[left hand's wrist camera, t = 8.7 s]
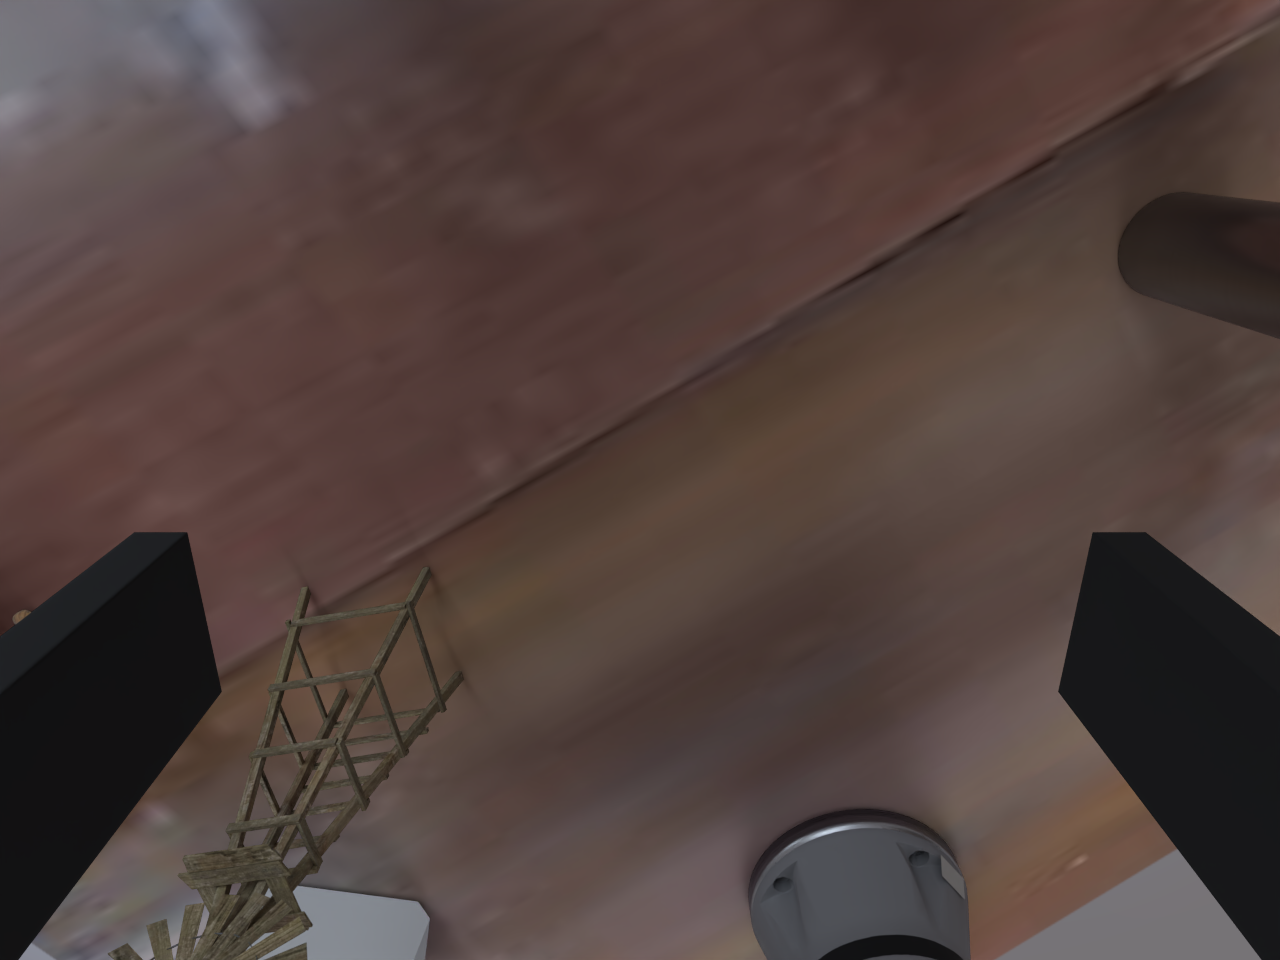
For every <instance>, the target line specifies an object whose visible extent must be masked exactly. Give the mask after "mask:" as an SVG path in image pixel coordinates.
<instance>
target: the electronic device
mask: <svg viewBox="0 0 1280 960" xmlns="http://www.w3.org/2000/svg"><path fill="white" fill-rule="evenodd" d="M293 893H294V896H295V898H296V900H297V902H298V905H299V907H300V909H301V911H305V913H306V915H307V916H308V918H309V919H310V921H311V922H312V924H313V926H312V927H309V930H306V931H305V932H304V933H302V934H300V935H299V936H297V937H295V938H293V939H292V940H290V941H288V942H287V943H285V944H283V945H282V946H280V947H278V948H277V949H275V950H273V951H271V952H270V953H268V954H266V955H265V956H263V957H261V958H260V959H258V960H265V959H267V958H270V957H272V956H274V955H277V954H279V953H282V952H284V951H286V950H289V949H291V948H294V947H296V946H298V945H301V944H303V943H306V942H307V960H425V956H426V947H427V939H428V930H429V922H430V918H429V917H428V915H427V914H426V912H425V911H424V909H423V908H422V907H421V905H420V904H419V902H417V901H410V900H402V899H395V898H387V897H379V896H372V895H364V894H356V893H349V892H341V891H333V890H326V889H318V888H310V887H303V886H297V887H296V889H295V890H294V891H293ZM265 896H267V897H270V898H271V897H272V893H271V891H270V889H269V888H268V890H267V892H266V894H265ZM262 908H263V907H262ZM262 908H261V909H262ZM273 933H274V932H272V933H265V934H264V935H262V936H261V937H260V938H259V939H258V940H256V941H255V942H254V943H253V944H252V946H254V945H255V944H257V943H259V942H260V941H262V940H263V939H265V938H266V937H268V936H269V935H271V934H273ZM249 948H251V946H249V947H248V948H247V949H246V950H248V949H249Z"/></svg>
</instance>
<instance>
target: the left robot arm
mask: <svg viewBox="0 0 1280 960" xmlns="http://www.w3.org/2000/svg"><path fill="white" fill-rule="evenodd" d="M221 692H222V691H221V686H220V681H219V677H218V672H217V668H216V663H215V658H214V654H213V649H212V645H211V640H210V635H209V631H208V626H207V621H206V617H205V612H204V608H203V603H202V598H201V594H200V589H199V584H198V580H197V575H196V571H195V566H194V561H193V557H192V552H191V548H190V543H189V538H188V534H187V532H134V533H133V534H132V535H130V536H129V537H128V538H127V539H125V540H124V541H123V542H121V543H120V544H119V545H118V546H116V547H115V548H114V549H112V550H111V551H110V552H108V553H107V554H106V555H105V556H103V557H102V558H101V559H99V560H98V561H97V562H96V563H94V564H93V565H92V566H90V567H89V568H88V569H87V570H85V571H84V572H83V573H81V574H80V575H79V576H78V577H76V578H75V579H74V580H72V581H71V582H70V583H69V584H67V585H66V586H65V587H63V588H62V589H61V590H59V591H58V592H57V593H56V594H54V595H53V596H52V597H50V598H49V599H48V600H47V601H45V602H44V603H43V604H41V605H40V606H39V607H38V608H36V609H35V610H34V611H32V612H31V613H30V614H29V615H27V616H26V617H25V618H23V619H22V620H21V621H20V622H18V623H17V624H16V625H14V626H13V627H12V628H10V629H9V630H8V631H7V632H5V633H4V634H3V635H1V636H0V960H19V958H20V957H21V956H22V954H23V953H24V952H25V950H26V949H27V948H28V946H29V945H30V944H31V942H32V941H33V940H34V938H35V937H36V936H37V935H38V933H39V932H40V931H41V929H42V928H43V927H44V925H45V924H46V923H47V921H48V920H49V919H50V917H51V916H52V915H53V913H54V912H55V911H56V909H57V908H58V907H59V906H60V904H61V903H62V902H63V900H64V899H65V898H66V896H67V895H68V894H69V892H70V891H71V890H72V888H73V887H74V886H75V884H76V883H77V882H78V880H79V879H80V878H81V877H82V875H83V874H84V873H85V871H86V870H87V869H88V867H89V866H90V865H91V863H92V862H93V861H94V859H95V858H96V857H97V855H98V854H99V853H100V851H101V850H102V849H103V848H104V846H105V845H106V844H107V842H108V841H109V840H110V838H111V837H112V836H113V834H114V833H115V832H116V830H117V829H118V828H119V826H120V825H121V824H122V822H123V821H124V820H125V819H126V817H127V816H128V815H129V813H130V812H131V811H132V809H133V808H134V807H135V805H136V804H137V803H138V801H139V800H140V799H141V797H142V796H143V795H144V793H145V792H146V791H147V790H148V788H149V787H150V786H151V784H152V783H153V782H154V780H155V779H156V778H157V776H158V775H159V774H160V772H161V771H162V770H163V768H164V767H165V766H166V764H167V763H168V762H169V761H170V759H171V758H172V757H173V755H174V754H175V753H176V751H177V750H178V749H179V747H180V746H181V745H182V743H183V742H184V741H185V739H186V738H187V737H188V735H189V734H190V733H191V732H192V730H193V729H194V728H195V726H196V725H197V724H198V722H199V721H200V720H201V718H202V717H203V716H204V714H205V713H206V712H207V710H208V709H209V708H210V706H211V705H212V704H213V703H214V701H215V700H216V699H217V697H218V696H219V695H220V693H221ZM1058 692H1059V693H1060V695H1061V696H1062V697H1063V699H1064V700H1065V701H1066V703H1067V704H1068V705H1069V706H1070V708H1071V709H1072V710H1073V712H1074V713H1075V714H1076V716H1077V717H1078V718H1079V720H1080V721H1081V722H1082V724H1083V725H1084V726H1085V728H1086V729H1087V730H1088V732H1089V733H1090V734H1091V735H1092V737H1093V738H1094V739H1095V741H1096V742H1097V743H1098V745H1099V746H1100V747H1101V749H1102V750H1103V751H1104V753H1105V754H1106V755H1107V757H1108V758H1109V759H1110V761H1111V762H1112V763H1113V764H1114V766H1115V767H1116V768H1117V770H1118V771H1119V772H1120V774H1121V775H1122V776H1123V778H1124V779H1125V780H1126V782H1127V783H1128V784H1129V786H1130V787H1131V788H1132V790H1133V791H1134V792H1135V793H1136V795H1137V796H1138V797H1139V799H1140V800H1141V801H1142V803H1143V804H1144V805H1145V807H1146V808H1147V809H1148V811H1149V812H1150V813H1151V815H1152V816H1153V817H1154V819H1155V820H1156V821H1157V822H1158V824H1159V825H1160V826H1161V828H1162V829H1163V830H1164V832H1165V833H1166V834H1167V836H1168V837H1169V838H1170V840H1171V841H1172V842H1173V844H1174V845H1175V846H1176V848H1177V849H1178V850H1179V851H1180V853H1181V854H1182V855H1183V857H1184V858H1185V859H1186V861H1187V862H1188V863H1189V865H1190V866H1191V867H1192V869H1193V870H1194V871H1195V873H1196V874H1197V875H1198V877H1199V878H1200V879H1201V880H1202V882H1203V883H1204V884H1205V886H1206V887H1207V888H1208V890H1209V891H1210V892H1211V894H1212V895H1213V896H1214V898H1215V899H1216V900H1217V902H1218V903H1219V904H1220V905H1221V907H1222V908H1223V909H1224V911H1225V912H1226V913H1227V915H1228V916H1229V917H1230V919H1231V920H1232V921H1233V923H1234V924H1235V925H1236V927H1237V928H1238V929H1239V931H1240V932H1241V933H1242V934H1243V936H1244V937H1245V938H1246V940H1247V941H1248V942H1249V944H1250V945H1251V946H1252V948H1253V949H1254V950H1255V952H1256V953H1257V954H1258V956H1259V957H1260V958H1261V960H1280V636H1279V635H1277V634H1276V633H1275V632H1273V631H1272V630H1271V629H1270V628H1268V627H1267V626H1266V625H1264V624H1263V623H1262V622H1260V621H1259V620H1258V619H1257V618H1255V617H1254V616H1253V615H1251V614H1250V613H1249V612H1248V611H1246V610H1245V609H1244V608H1242V607H1241V606H1240V605H1239V604H1237V603H1236V602H1235V601H1233V600H1232V599H1231V598H1230V597H1228V596H1227V595H1226V594H1224V593H1223V592H1222V591H1221V590H1219V589H1218V588H1217V587H1215V586H1214V585H1213V584H1211V583H1210V582H1209V581H1208V580H1206V579H1205V578H1204V577H1202V576H1201V575H1200V574H1199V573H1197V572H1196V571H1195V570H1193V569H1192V568H1191V567H1190V566H1188V565H1187V564H1186V563H1184V562H1183V561H1182V560H1181V559H1179V558H1178V557H1177V556H1175V555H1174V554H1173V553H1172V552H1170V551H1169V550H1168V549H1166V548H1165V547H1164V546H1162V545H1161V544H1160V543H1159V542H1157V541H1156V540H1155V539H1153V538H1152V537H1151V536H1150V535H1148V534H1147V533H1146V532H1093V534H1092V538H1091V543H1090V548H1089V552H1088V557H1087V561H1086V566H1085V571H1084V575H1083V580H1082V584H1081V589H1080V594H1079V598H1078V603H1077V608H1076V612H1075V617H1074V621H1073V626H1072V631H1071V635H1070V640H1069V645H1068V649H1067V654H1066V658H1065V663H1064V668H1063V672H1062V677H1061V681H1060V686H1059V691H1058ZM748 898H749V907H750V915H751V922H752V927H753V931H754V933H755V936H756V938H757V940H758V942H759V945H760V947H761V949H762V951H763V952H764V954H765V956H766V958H767V960H970V937H969V913H968V897H967V888H966V884H965V881H964V878H963V875H962V873H961V871H960V868H959V866H958V864H957V862H956V859H955V857H954V855H953V853H952V851H951V849H950V848H949V847H948V845H947V844H946V842H945V841H944V840H943V839H942V838H941V837H940V836H939V835H938V834H937V833H935V832H934V831H933V830H932V829H930V828H929V827H927V826H926V825H924V824H922V823H920V822H919V821H917V820H914V819H912V818H910V817H907V816H904V815H901V814H897V813H893V812H889V811H882V810H871V809H856V810H845V811H839V812H834V813H829V814H825V815H822V816H819V817H816V818H813V819H811V820H808V821H806V822H804V823H802V824H800V825H798V826H796V827H794V828H793V829H791V830H789V831H788V832H786V833H785V834H783V835H782V836H781V837H779V838H778V839H777V840H776V841H775V842H774V843H773V844H772V845H771V846H770V847H769V848H768V849H767V850H766V851H765V852H764V854H763V855H762V856H761V858H760V859H759V861H758V863H757V864H756V866H755V868H754V871H753V873H752V876H751V879H750V884H749V892H748Z"/></svg>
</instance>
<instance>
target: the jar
mask: <svg viewBox="0 0 1280 960" xmlns="http://www.w3.org/2000/svg"><path fill="white" fill-rule="evenodd" d="M1118 261H1119V267H1120V271H1121V274H1122V276H1123V278H1124V279H1125V281H1126V283H1127V284H1128V285H1129V286H1130V287H1131V288H1132V289H1134V290H1135V291H1136V292H1138V293H1140V294H1142V295H1145V296H1148V297H1151V298H1154V299H1157V300H1160V301H1163V302H1166V303H1170V304H1173V305H1176V306H1179V307H1182V308H1185V309H1188V310H1191V311H1194V312H1197V313H1200V314H1204V315H1207V316H1210V317H1213V318H1216V319H1219V320H1222V321H1225V322H1228V323H1231V324H1234V325H1238V326H1241V327H1244V328H1247V329H1250V330H1253V331H1256V332H1259V333H1262V334H1265V335H1269V336H1272V337H1275V338H1278V339H1280V202H1271V201H1261V200H1252V199H1243V198H1234V197H1225V196H1216V195H1207V194H1198V193H1188V192H1178V193H1172V194H1168V195H1165V196H1162V197H1160V198H1157V199H1155V200H1154V201H1152V202H1150V203H1149V204H1147V205H1146V206H1145V207H1143V208H1142V209H1141V210H1140V211H1139V212H1138V213H1137V214H1136V215H1135V216H1134V218H1133V219H1132V220H1131V221H1130V223H1129V224H1128V226H1127V228H1126V230H1125V231H1124V234H1123V236H1122V239H1121V242H1120V246H1119V252H1118Z"/></svg>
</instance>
